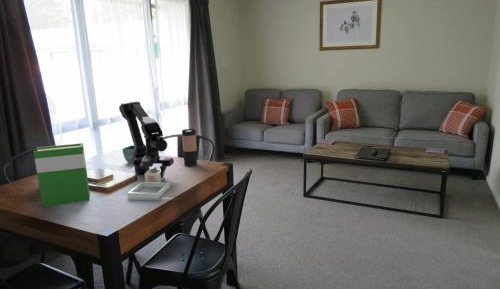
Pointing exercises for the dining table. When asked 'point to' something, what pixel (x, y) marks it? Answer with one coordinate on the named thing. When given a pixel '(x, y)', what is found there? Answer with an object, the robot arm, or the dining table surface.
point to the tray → (148, 196)
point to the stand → (156, 172)
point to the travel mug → (189, 147)
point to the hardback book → (62, 174)
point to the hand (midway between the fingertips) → (154, 178)
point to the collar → (153, 176)
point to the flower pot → (128, 153)
